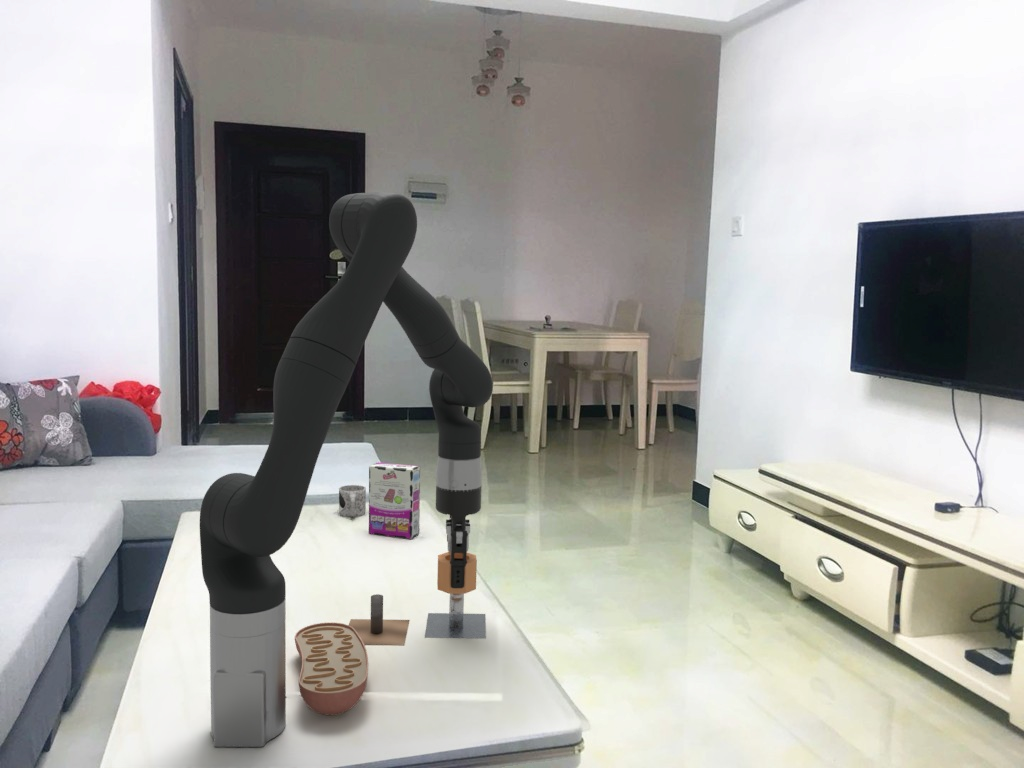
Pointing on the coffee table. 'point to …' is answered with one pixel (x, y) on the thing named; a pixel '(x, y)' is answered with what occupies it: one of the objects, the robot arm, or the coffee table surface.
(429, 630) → the silver peg on base
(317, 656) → the anatomical model
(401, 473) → the candy bar box
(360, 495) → the mug
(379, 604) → the stand
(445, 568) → the collar
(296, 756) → the coffee table surface
